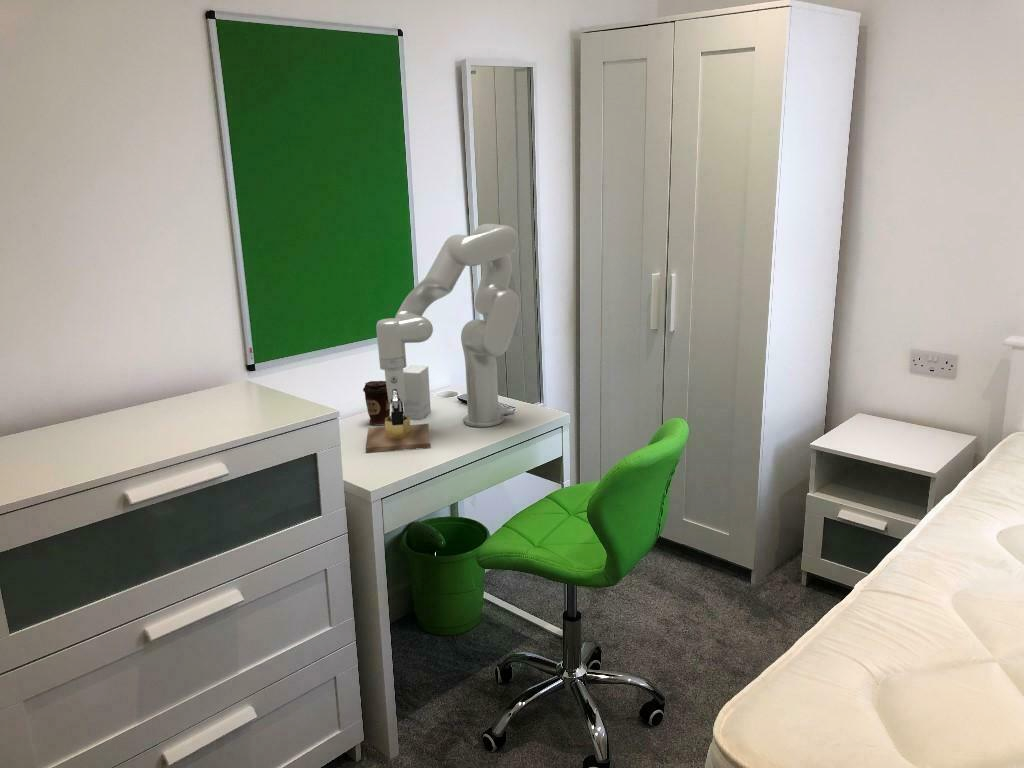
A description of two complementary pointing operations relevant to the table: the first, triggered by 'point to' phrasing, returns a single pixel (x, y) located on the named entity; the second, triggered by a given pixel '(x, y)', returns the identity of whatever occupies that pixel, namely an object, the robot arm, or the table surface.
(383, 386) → the coffee cup
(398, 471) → the table surface
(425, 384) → the skincare box
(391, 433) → the brass ring
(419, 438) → the post board
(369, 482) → the table surface
